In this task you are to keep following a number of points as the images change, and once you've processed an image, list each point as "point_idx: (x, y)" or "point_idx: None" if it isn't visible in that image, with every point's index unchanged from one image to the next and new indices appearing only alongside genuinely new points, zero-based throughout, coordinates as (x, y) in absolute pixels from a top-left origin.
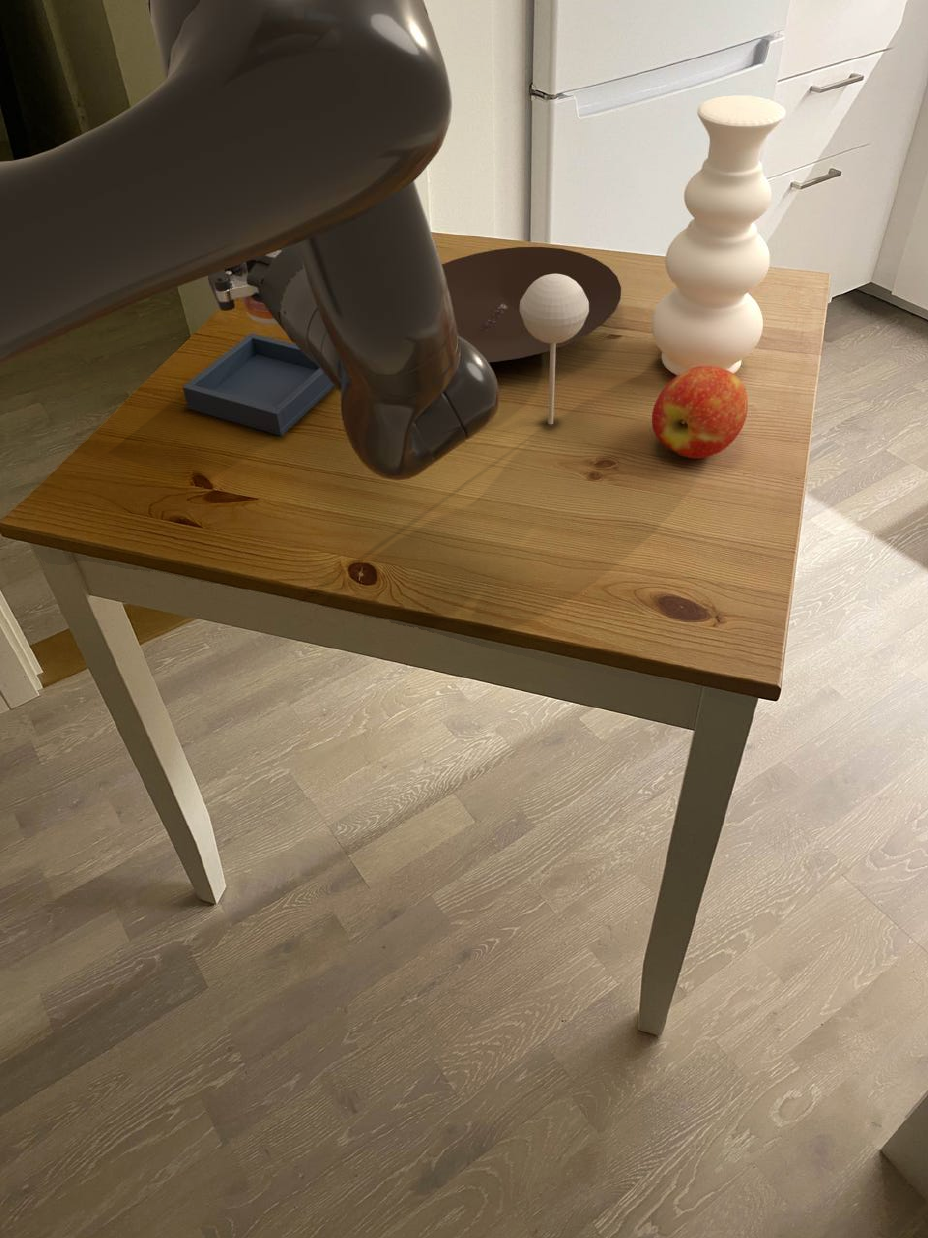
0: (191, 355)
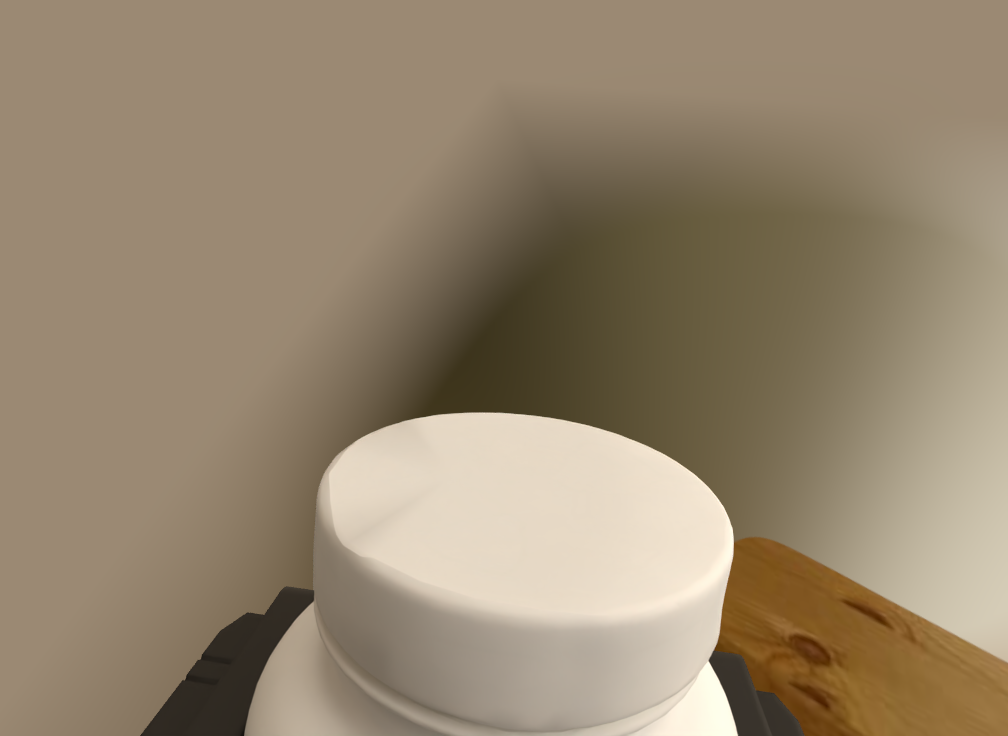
0: None
